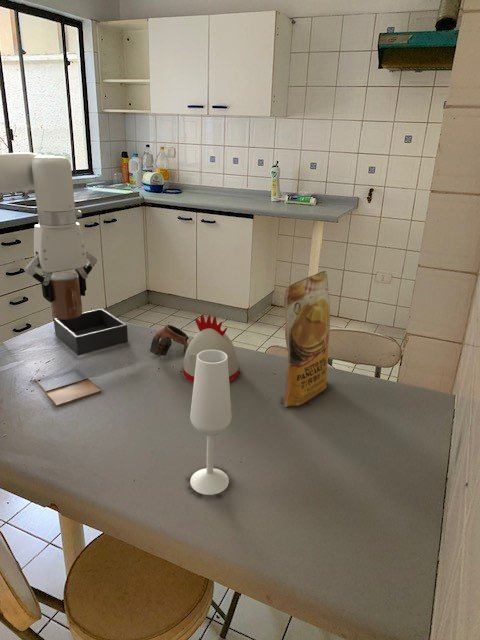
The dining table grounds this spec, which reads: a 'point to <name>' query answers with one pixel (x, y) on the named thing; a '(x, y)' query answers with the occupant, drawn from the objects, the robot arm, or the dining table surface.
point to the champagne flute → (210, 414)
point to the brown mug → (66, 295)
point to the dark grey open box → (91, 331)
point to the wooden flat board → (71, 392)
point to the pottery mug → (167, 340)
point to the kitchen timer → (210, 347)
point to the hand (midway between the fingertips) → (65, 296)
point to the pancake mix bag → (306, 338)
